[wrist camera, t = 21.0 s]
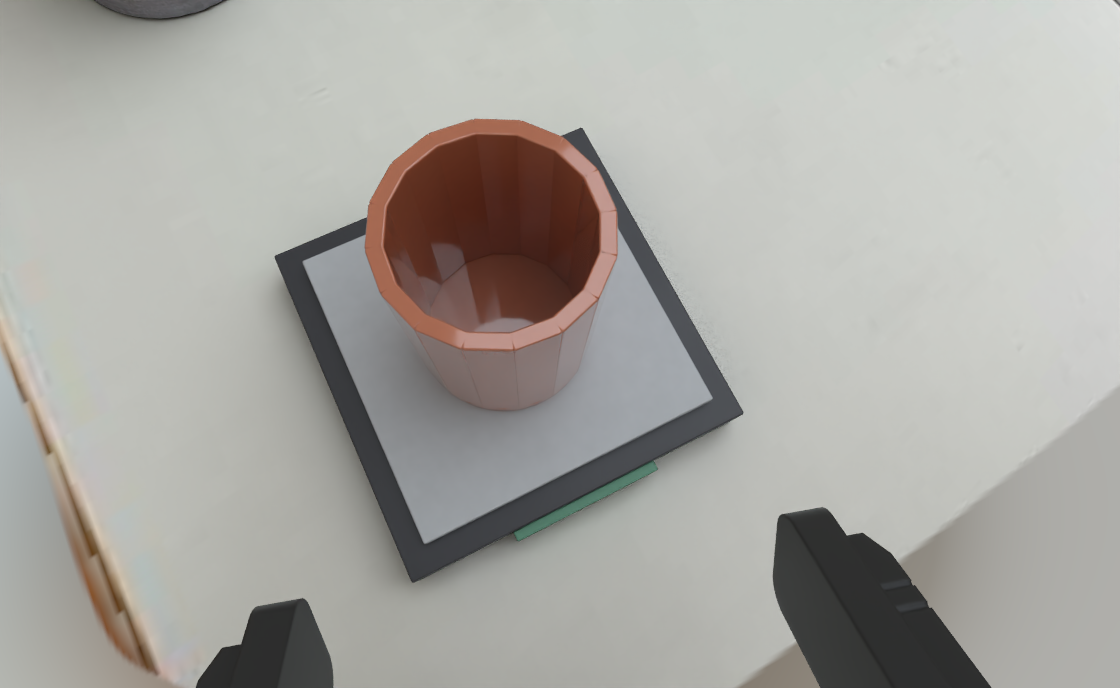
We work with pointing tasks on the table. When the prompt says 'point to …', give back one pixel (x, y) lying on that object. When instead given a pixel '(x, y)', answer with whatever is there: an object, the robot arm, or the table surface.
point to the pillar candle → (157, 7)
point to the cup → (494, 258)
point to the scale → (505, 436)
